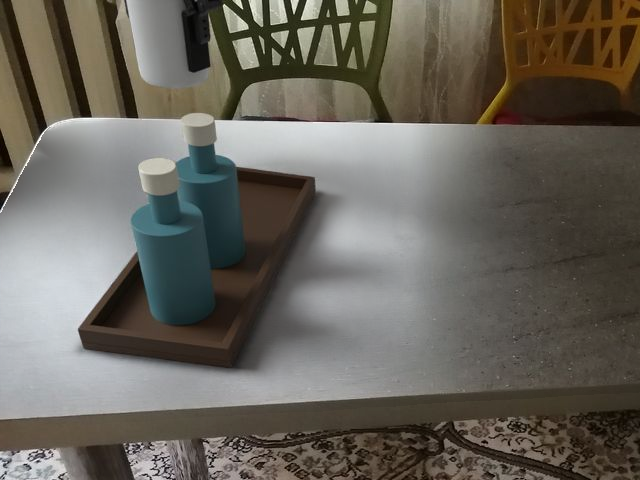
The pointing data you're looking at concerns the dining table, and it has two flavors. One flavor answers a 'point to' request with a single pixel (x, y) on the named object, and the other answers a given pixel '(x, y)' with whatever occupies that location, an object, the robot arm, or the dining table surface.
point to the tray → (229, 283)
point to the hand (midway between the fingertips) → (172, 58)
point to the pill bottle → (162, 43)
